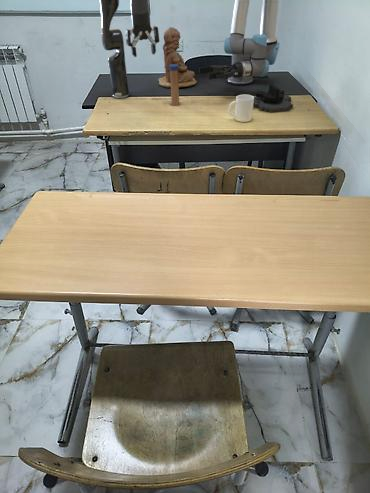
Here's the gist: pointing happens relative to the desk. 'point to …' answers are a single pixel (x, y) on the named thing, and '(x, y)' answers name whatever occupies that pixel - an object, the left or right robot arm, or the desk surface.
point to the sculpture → (175, 61)
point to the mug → (242, 108)
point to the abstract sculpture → (272, 100)
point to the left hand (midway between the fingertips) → (144, 55)
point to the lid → (173, 67)
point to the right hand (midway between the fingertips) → (203, 73)
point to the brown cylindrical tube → (174, 87)
